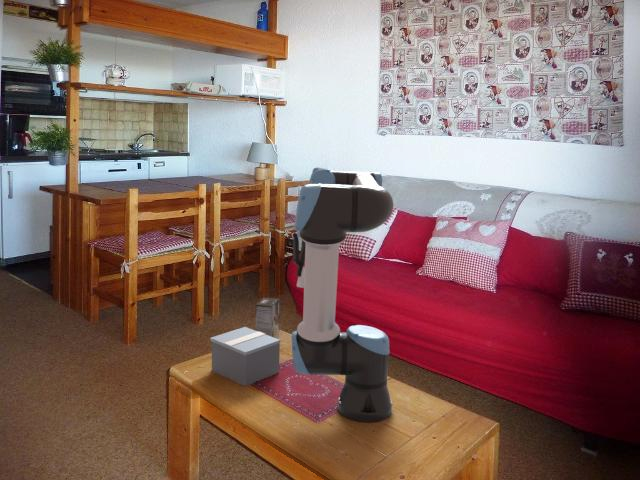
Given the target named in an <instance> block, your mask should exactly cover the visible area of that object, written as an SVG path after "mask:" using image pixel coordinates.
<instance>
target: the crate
mask: <svg viewBox="0 0 640 480" xmlns="http://www.w3.org/2000/svg"><path fill="white" fill-rule="evenodd" d="M280 346H281V342H280V343H279V344H276V345H273V346H270V347H268V348H265V349H262V350H259V351H257V352H254V353H251V354H248V355H246V356H245V355H243V354H241V353H238V352H236V351H233V350H231V349H229V348H226V347H224V346H221V345H219V344H217V343H214V342H212V341H211V371H212V372H214V373H216V374H218V375H219V376H220V375H221V376H222V377H225V378H227V379H229V380H231V381H233V382H236V383H237V384H239V385H242V386H244V387H248V386H250V385H252V384H255V383H257V382H256V381H258V382H260V381H262V380H261V379H263V380H265V379H267V377H268V378H270V377H273V376H275V375H277V373H278V374H279V373H280V351H281V350H280V348H281V347H280ZM274 374H275V375H274ZM272 375H273V376H272ZM269 376H270V377H269ZM264 378H265V379H264ZM259 380H260V381H259ZM254 382H255V383H254Z"/></svg>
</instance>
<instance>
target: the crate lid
mask: <svg viewBox="0 0 640 480" xmlns="http://www.w3.org/2000/svg"><path fill="white" fill-rule="evenodd" d="M210 342H211V343H212V342H214V343H217V344H219V345H221V346H224V347H226V348H229V349H231V350H233V351H236V352H238V353H241V354H243V355H245V356H246V355H248V354H251V353H254V352H257V351H259V350H262V349H265V348H268V347H270V346H273V345H276V344H279V343H280V344H281V340H280V338H279V339H276V338H274V337H271V336H268V335H266V334H264V333H262V332H259V331H255V330H254V329H252V328H250V327H247V326H244V327H240V328H238V329H237V328H236V329H234V330H230V331H227V332H224V333H221V334H218V335H215V336H212V337H210Z"/></svg>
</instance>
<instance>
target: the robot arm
mask: <svg viewBox="0 0 640 480" xmlns="http://www.w3.org/2000/svg"><path fill="white" fill-rule="evenodd" d="M298 193H299V194H298V200H297V204H296V211H295V212H296V213H295V218H294V226H293V227H294V231H295V232H292V233H290V236H291V239H292V262H293V264H295V265H296V266H297V269H296V277H297V282H296V287H297V288H300V289H301V288H302V289H303V310H302V311H303V313H302V321H301V322H300V323H299V324H298V325H297V326H296V327H297V328H296V330H294V331H292V333H291V350H292V351H291V352H292V362H293V368H294V370H295V372H296V373H297V374H301V375H309V376H314V375H316V376H317V375H319V376H321V375H322V376H324V375H325V376H345V378H344V383H343V387H342V388H341V392H340V394H339V397H338V399H337V410H338V412H339V413H340V414H341V415H342V416H343V417H345V418H347V419H350V420H352V421H357V422H363V423H365V422H366V423H373V422H380V421H382V420H386V419H387V418H389V417H390V416H391V414H392V412H393V411H392V409H393V403H392V399H391V396H390V391H389V388H388V387H389V386H388V373H389V369H388V368H389V358H390V357H389V355H390V353H391V352H390V338H389V337H388V335H387V334H386V333H385V332H384V331H383V330H380V329H378V328H376V327H373V326H368V325H363V324H356V325H351V326H349V327H348V328H347V329H346V332H345V331H344V332H342V331H341V328H340V326H339V324H338V323H336V309H337V308H336V306H337V289H338V273H339V257H340V255H339V254H340V245H341V244H343V243H344V242H345V240H346V238H347V233H365V232H370V231H372V230H374V229H377V228H379V227H380V226H383V225H384V224H385V223H386V222H387V221H388V220H389V219H390V217H391V215H392V214H393V210H394V198H393V197H392V195H391V193H390V192H389V191H388V190H387V189H386V188H385V187H383V177H382V174H381V173H380V172H375V171H374V172H373V171H346V170H345V171H344V170H343V171H342V170H331V169H329V168H325V167H314V168H313V169H312V172H311V175H310V178H309V183H306V184H304V185H302V186H301V187H300V189H299V192H298ZM300 239H301V248H300V244H299V241H300Z"/></svg>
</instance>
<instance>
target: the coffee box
mask: <svg viewBox="0 0 640 480" xmlns="http://www.w3.org/2000/svg"><path fill="white" fill-rule="evenodd" d="M280 303H281V298H272V297H262V298H261V299H260V300H259V301H258V302H257V303H256V304H255V331H259V332H262V333H264V334H266V335H268V336H271V337H274V338H276V339H279V340H280V311H281V309H280Z"/></svg>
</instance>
